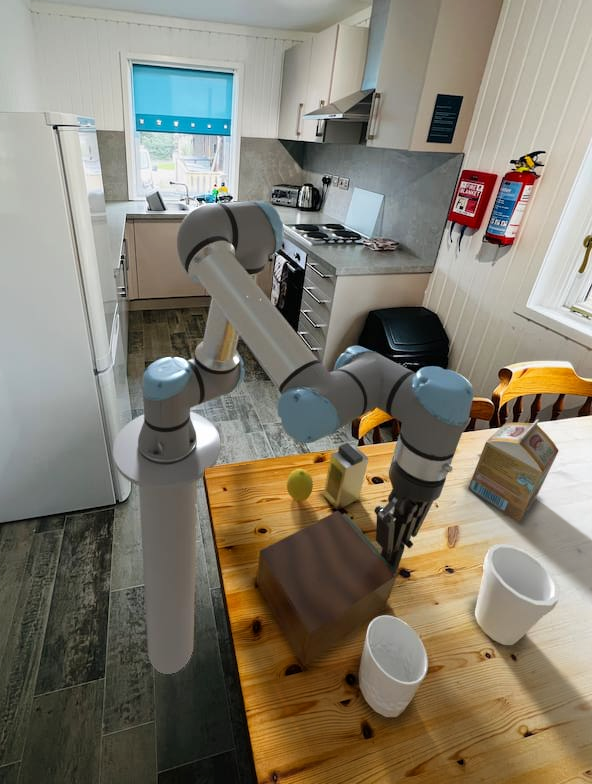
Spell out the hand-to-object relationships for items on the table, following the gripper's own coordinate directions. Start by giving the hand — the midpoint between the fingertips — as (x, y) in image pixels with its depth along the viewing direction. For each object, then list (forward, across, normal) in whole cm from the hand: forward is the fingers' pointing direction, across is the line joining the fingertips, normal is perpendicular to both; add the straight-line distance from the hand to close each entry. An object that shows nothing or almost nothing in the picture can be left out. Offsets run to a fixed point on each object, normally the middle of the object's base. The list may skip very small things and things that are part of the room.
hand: (387, 567), depth 69 cm
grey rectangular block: (+5, +7, +18) cm, 20 cm away
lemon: (+6, -2, +22) cm, 23 cm away
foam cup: (+6, +13, -13) cm, 19 cm away
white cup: (+6, -11, -10) cm, 16 cm away
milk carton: (+6, +42, +2) cm, 42 cm away
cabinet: (+5, -11, +4) cm, 13 cm away
